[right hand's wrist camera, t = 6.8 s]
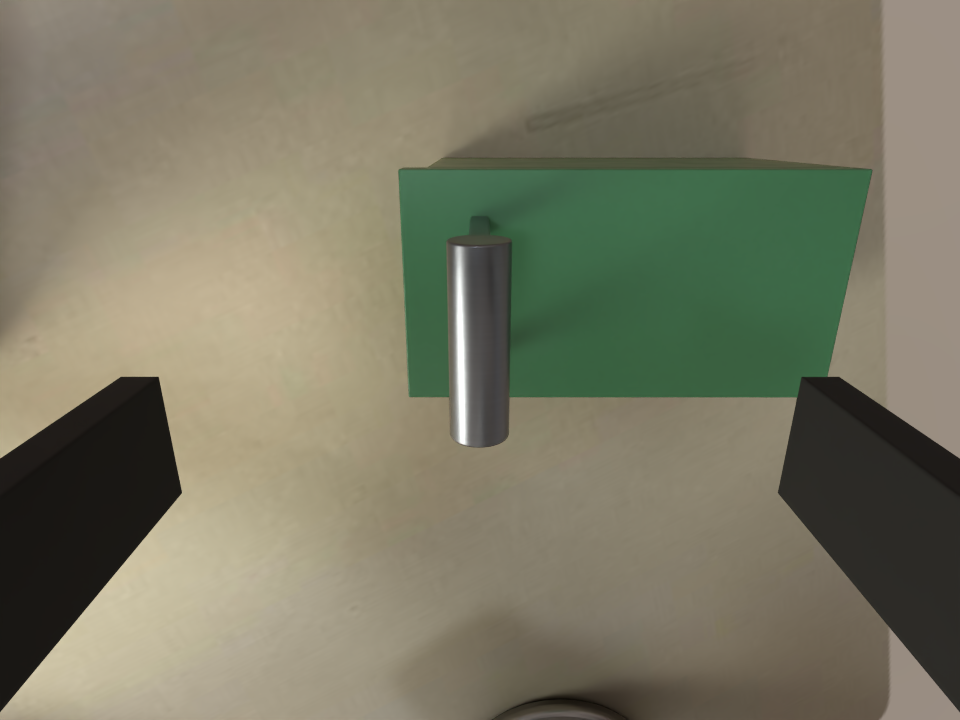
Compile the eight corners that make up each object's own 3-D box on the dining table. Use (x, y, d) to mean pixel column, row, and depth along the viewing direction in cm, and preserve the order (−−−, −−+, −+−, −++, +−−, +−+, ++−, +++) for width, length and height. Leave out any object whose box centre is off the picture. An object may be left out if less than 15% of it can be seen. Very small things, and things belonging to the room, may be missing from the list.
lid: (411, 386, 27) (382, 492, 19) (402, 167, 24) (362, 184, 16) (808, 386, 27) (946, 492, 19) (854, 167, 24) (1044, 184, 16)
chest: (444, 320, 36) (432, 385, 27) (441, 157, 33) (425, 167, 24) (723, 320, 36) (808, 386, 27) (747, 158, 33) (853, 167, 24)
